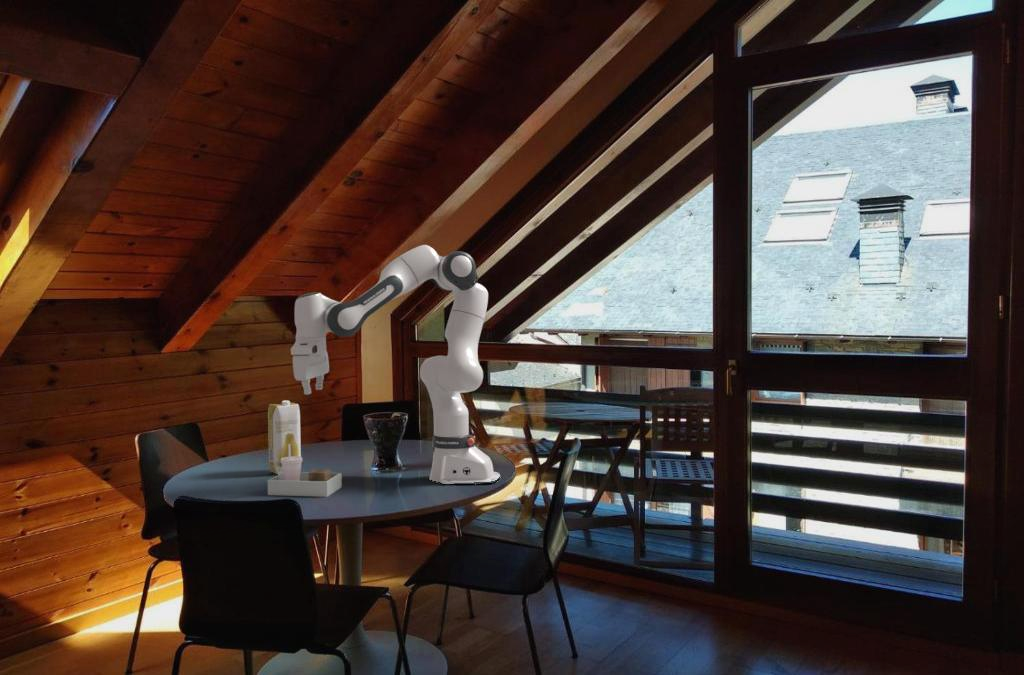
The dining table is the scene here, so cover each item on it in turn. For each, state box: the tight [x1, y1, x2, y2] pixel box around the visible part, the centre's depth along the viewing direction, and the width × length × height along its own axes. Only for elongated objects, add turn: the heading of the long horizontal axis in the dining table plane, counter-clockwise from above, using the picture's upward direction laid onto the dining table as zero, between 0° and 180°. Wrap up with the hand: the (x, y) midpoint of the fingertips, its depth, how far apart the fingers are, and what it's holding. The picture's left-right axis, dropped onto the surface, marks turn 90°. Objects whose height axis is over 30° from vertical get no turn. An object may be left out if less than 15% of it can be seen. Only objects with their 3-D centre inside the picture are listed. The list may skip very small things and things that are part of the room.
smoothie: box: [281, 444, 304, 481], centre depth 242 cm, size 6×6×14 cm
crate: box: [267, 471, 343, 498], centre depth 242 cm, size 18×12×5 cm, turn 82°
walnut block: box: [308, 468, 332, 482], centre depth 242 cm, size 5×5×6 cm
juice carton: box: [267, 400, 302, 475], centre depth 271 cm, size 9×8×24 cm
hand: (313, 391), depth 249 cm, fingers open, 8 cm apart
